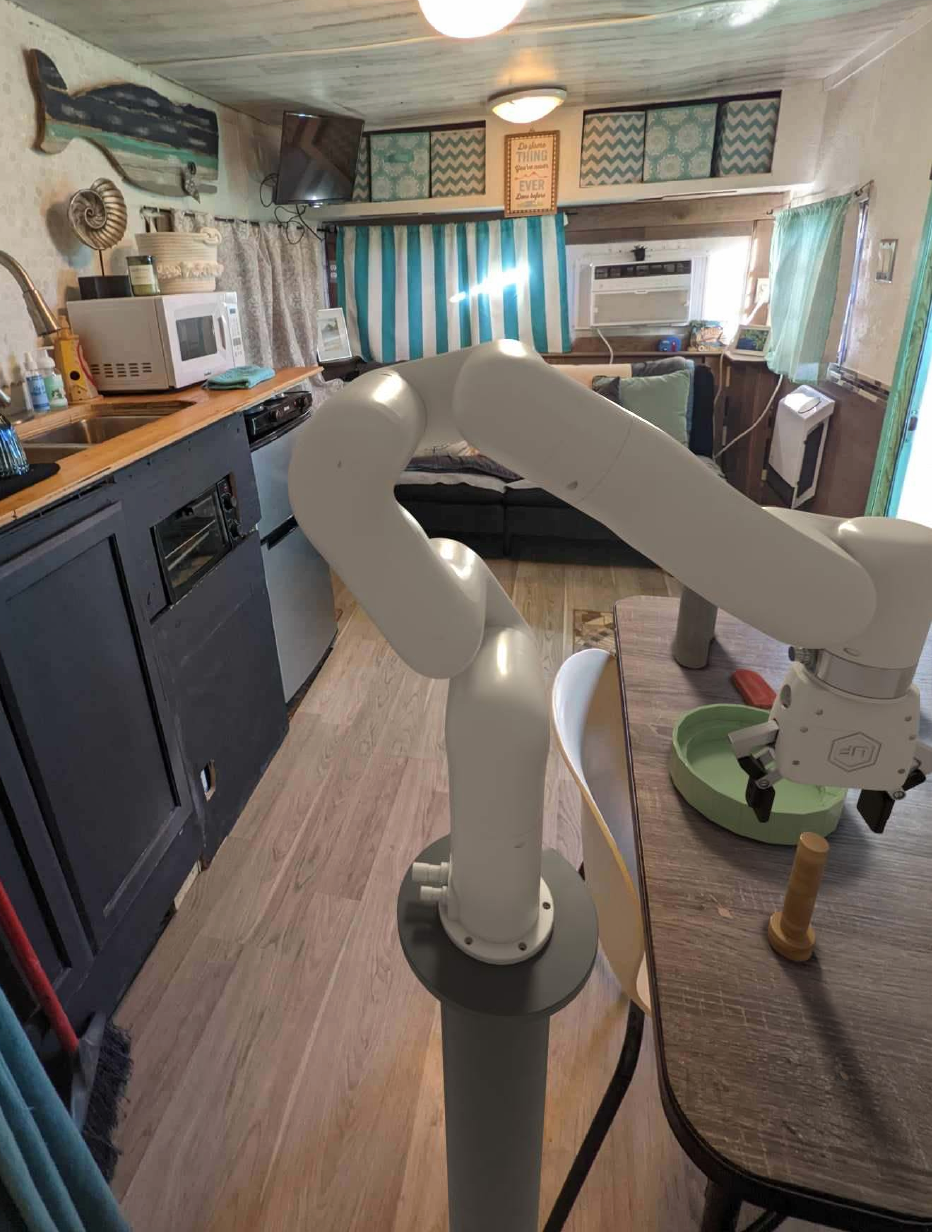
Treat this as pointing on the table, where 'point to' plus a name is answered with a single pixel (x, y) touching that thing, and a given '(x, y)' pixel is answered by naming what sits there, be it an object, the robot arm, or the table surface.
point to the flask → (694, 628)
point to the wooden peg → (800, 900)
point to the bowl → (743, 779)
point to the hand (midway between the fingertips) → (812, 816)
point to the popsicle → (754, 689)
